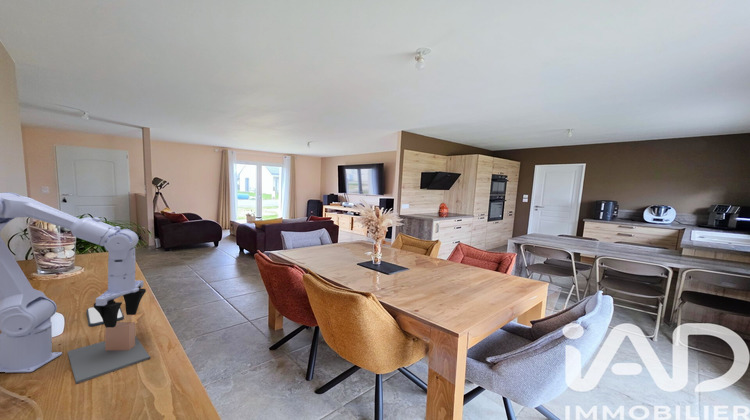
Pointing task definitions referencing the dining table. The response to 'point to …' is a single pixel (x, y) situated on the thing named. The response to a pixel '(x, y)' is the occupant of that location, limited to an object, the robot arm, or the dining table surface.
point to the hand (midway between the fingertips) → (121, 320)
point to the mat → (103, 360)
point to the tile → (120, 336)
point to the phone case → (99, 317)
